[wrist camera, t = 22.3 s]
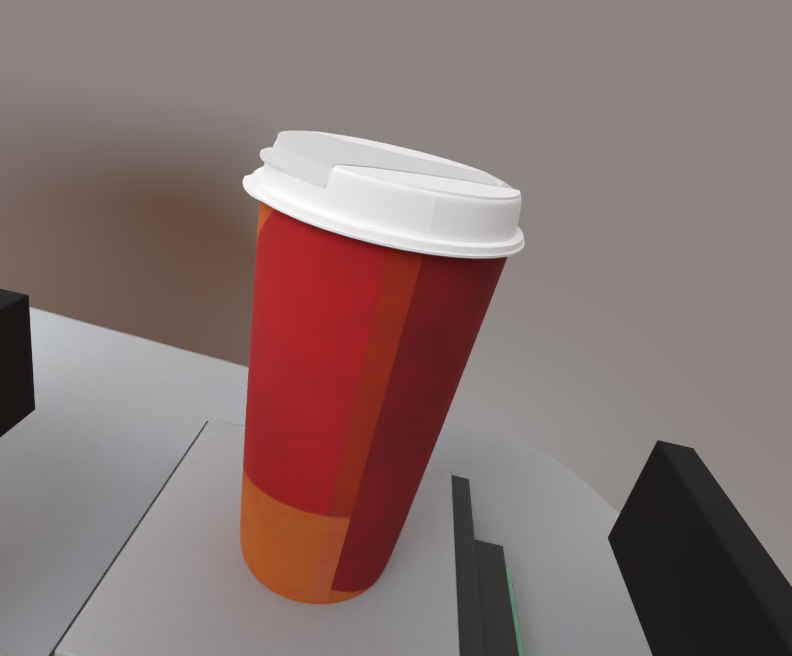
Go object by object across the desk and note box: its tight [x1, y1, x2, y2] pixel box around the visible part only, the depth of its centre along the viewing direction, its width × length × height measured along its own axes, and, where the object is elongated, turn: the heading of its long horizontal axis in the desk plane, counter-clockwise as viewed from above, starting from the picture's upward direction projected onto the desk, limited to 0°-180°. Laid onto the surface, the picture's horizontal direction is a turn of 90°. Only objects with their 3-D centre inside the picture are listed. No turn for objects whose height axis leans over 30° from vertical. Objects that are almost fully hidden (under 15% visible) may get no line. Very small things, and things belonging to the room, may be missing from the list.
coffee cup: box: [240, 131, 524, 604], centre depth 19 cm, size 8×8×15 cm
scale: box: [49, 419, 523, 656], centre depth 23 cm, size 16×14×3 cm
